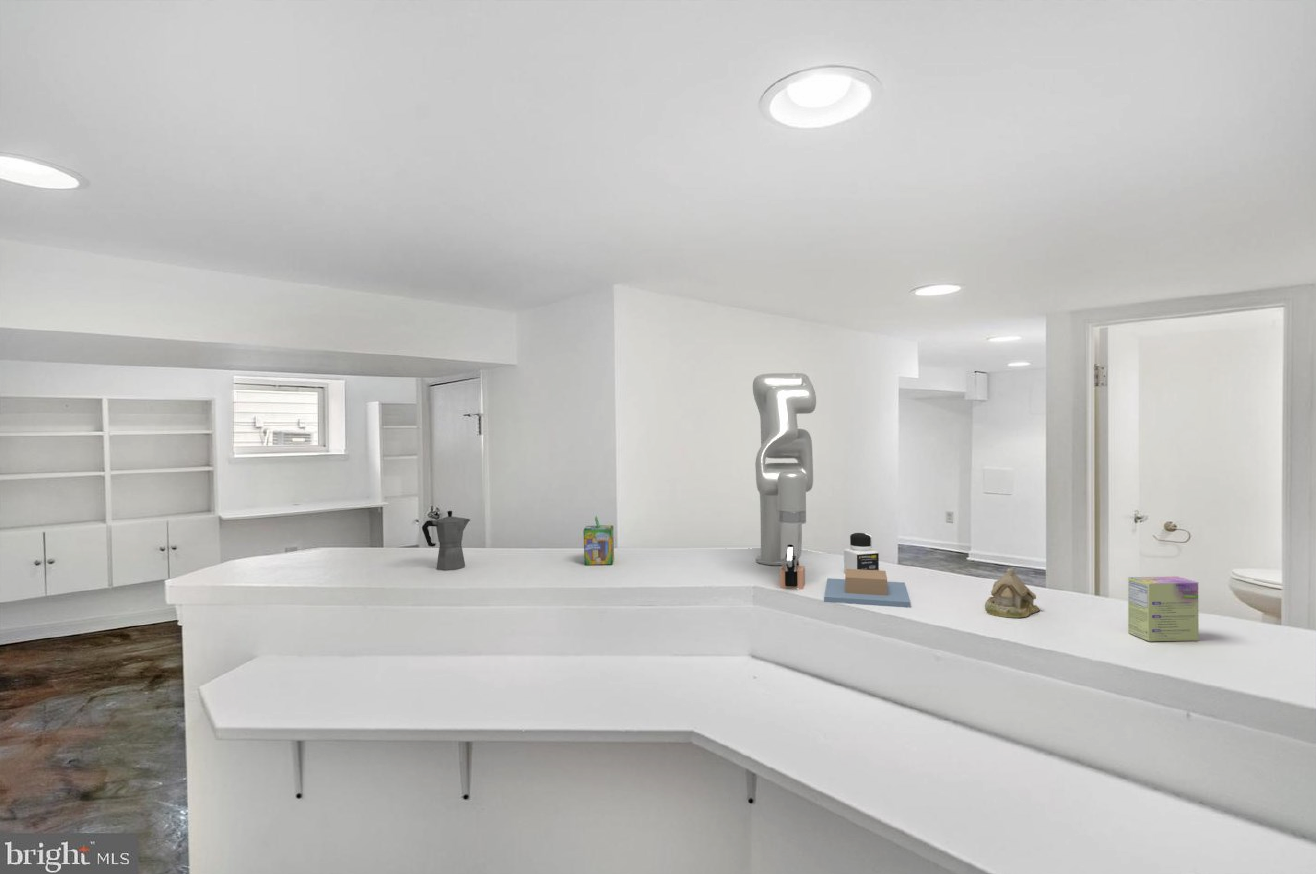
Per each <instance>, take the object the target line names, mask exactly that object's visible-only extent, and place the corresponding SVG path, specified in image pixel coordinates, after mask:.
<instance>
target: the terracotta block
mask: <svg viewBox="0 0 1316 874" xmlns="http://www.w3.org/2000/svg"><path fill="white" fill-rule="evenodd" d="M785 571H786V565H781V567H780V569H779V583H780V584H779V588H780V589H787V588H799V589H798V590H804V587H805V583H806V580H805V579H806V577H805V574H806V572H805V565H799V566H796V571H797V582H798V585H797V587H793V586H786V585H785Z"/></svg>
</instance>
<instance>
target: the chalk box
mask: <svg viewBox="0 0 1316 874" xmlns="http://www.w3.org/2000/svg"><path fill="white" fill-rule="evenodd" d="M594 520H595V524H596V525H586V526H585V527H584V529H583V530H582V531H583V549H584V550H583V551H584V552H583V553H584V554H583V555H584V566H597V565H599V566H600V565H601V566H603V565H611V566H612V565H613V564H614V561H615V546H614V545H615V543H614V542H615V541H614V539H615V538H614V537H615V536H614V535H615V533H614V532H615V531H614V525H613V524H612V525H605V524H603V525H601V524H600V522H599V519H598V517H597V515H596V516H595V517H594Z"/></svg>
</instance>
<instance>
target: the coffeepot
mask: <svg viewBox="0 0 1316 874" xmlns="http://www.w3.org/2000/svg"><path fill="white" fill-rule="evenodd" d="M469 522H471V519H470V518H464V517H457V516H453V511H452V510H448V511H447V516H446V517H443V518H442V517H441V518H439V519H434V520H432V519H431V520H426V521H425V522H424V523H423V525H422V527H421V530H422V532H423V535H424V538H425V540H426V543H427V545H428V547H435V546H436V545H437V544H436V543H435V542H432V537H431V536H430V530H429V527H435V529H436V534H437V539H438V543H439V548H438V553H437V554H438V556H437V560H436V561H437V563H436V569H437V570H438V569H439V571H455V570H456V571H457V570H461V569H463V568H465V567H466V562H465V556H464V552H463V545H462V541H463V536H464V530H465V529H466V527H467V525H468V524H469Z"/></svg>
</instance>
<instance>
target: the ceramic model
mask: <svg viewBox="0 0 1316 874" xmlns="http://www.w3.org/2000/svg"><path fill="white" fill-rule="evenodd" d="M990 595H991V596H989V597H988V599H987V600H986V601H985V604H984V609H985V612H986V611H987V612H986V614H988V613H989V615H991V616H996V617H1002V618H1014V619H1015V618H1016V619H1017V618H1018V619H1019V618H1020V619H1021V618H1027V617H1029V616H1030V615H1031V614H1034V613H1037V612H1039V611H1040V608H1039V607H1038V606H1037V605H1036V604H1034V601H1035V600H1036V599H1037V595H1036V594H1035V593H1034V592H1033V591H1032V590H1030V588H1028V586H1027V585H1025V583H1024V582H1023V580H1021V578H1020V577H1019V576H1018V575H1017V574H1016V572H1015V570H1014V568H1013V567H1008V568H1007V571H1006V572H1005V574H1004V575H1003V576H1002V577H1000V578H999V579H997V580H996V581H994V583H993V586H992V589H991V591H990Z"/></svg>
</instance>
